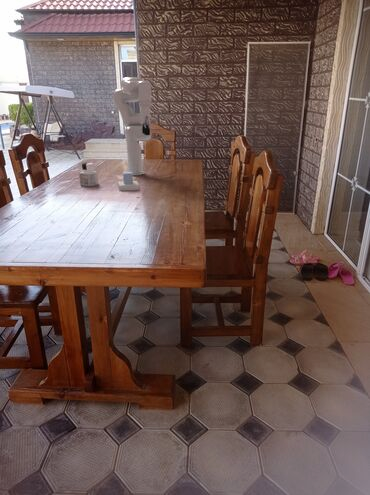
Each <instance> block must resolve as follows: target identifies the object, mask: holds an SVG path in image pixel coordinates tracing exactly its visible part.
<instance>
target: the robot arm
mask: <svg viewBox="0 0 370 495" xmlns="http://www.w3.org/2000/svg"><path fill="white" fill-rule="evenodd" d="M151 84H152V83H151V81H148V80H143V78H141V77H136V76H135V77H134V76H132V77H131V76H126V77H123V78H122V79H121V80H120V87H121V88H118V89H115V90H114V91H113V96H112V97H113V102H114V105H115V107H116V109H117V110H118V111H119V113H120V117H121V119H122V123H123V125H124V127H126V128H125V129H124V136H125V141H126V151H127V152H126V153H127V169H128V171H127V172H132V176H142V174H143V175H145V172H146V171H143V158H142V156H143V155H142V146H141V145H140V143H139V141H149V140H151V138H152V130H151V129H152V128H151V127H150V126H151V125H150V124H151V107H152V105H153V104H152V85H151ZM136 102H138V107H139V108H140V109H139V110H140V111H139V112H138V113H137V112H136V113H135V112H134V110H133V108H132V107H131V106H130V105H129V104H128V103H136Z"/></svg>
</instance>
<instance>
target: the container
mask: <svg viewBox="0 0 370 495" xmlns="http://www.w3.org/2000/svg"><path fill="white" fill-rule="evenodd" d="M81 167H82V168H81V169H82V171H80V172H79V174H78V176H79V182H80V184H79V185H80V186H85V187H92V186H96V185H99V175H98V171H95V169H94V163H93V162H83V163H82V164H81Z"/></svg>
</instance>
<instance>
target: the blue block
mask: <svg viewBox="0 0 370 495" xmlns="http://www.w3.org/2000/svg"><path fill="white" fill-rule="evenodd" d="M133 177H134V175H132V172H128V171H123V172H122V181H123V183H124V184H133V181H134V178H133Z"/></svg>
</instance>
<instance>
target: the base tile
mask: <svg viewBox="0 0 370 495" xmlns="http://www.w3.org/2000/svg"><path fill="white" fill-rule="evenodd" d="M117 187H118V189H119V190H118V191H121V192H123V191H139V190H140V185H139V183H138V181H137V180H133V184H124V183H123V180H122V181H118V182H117Z"/></svg>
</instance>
